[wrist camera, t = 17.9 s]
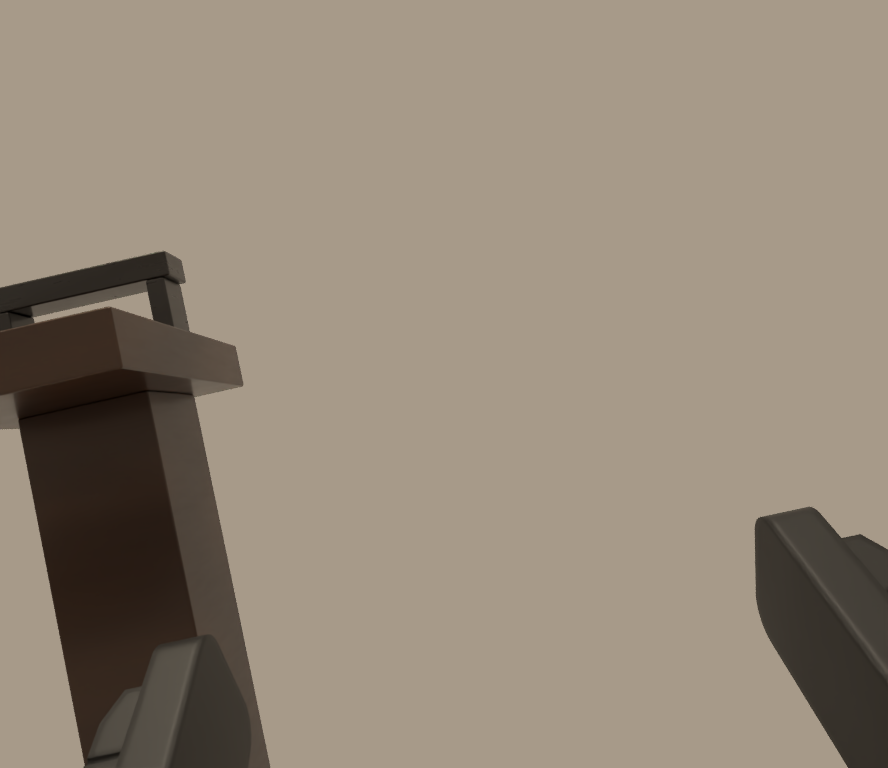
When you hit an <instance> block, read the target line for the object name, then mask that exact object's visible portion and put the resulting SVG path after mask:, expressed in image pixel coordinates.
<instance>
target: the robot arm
mask: <svg viewBox="0 0 888 768" xmlns="http://www.w3.org/2000/svg"><path fill="white" fill-rule="evenodd" d="M755 566H756V600H757V605H758V610H759V614H760V617H761V621H762V623H763V626H764V629H765V631H766V633H767V635H768V637H769V639H770V641H771V642H772V644H773V646H774V648H775V649H776V651H777V652H778V654H779V655H780V657H781V659H782V661H783V662H784V664H785V665H786V667H787V669H788V670H789V672H790V673H791V675H792V677H793V678H794V680H795V682H796V683H797V685H798V687H799V688H800V690H801V692H802V693H803V695H804V696H805V698H806V700H807V701H808V703H809V705H810V706H811V708H812V709H813V711H814V713H815V714H816V716H817V718H818V719H819V721H820V722H821V724H822V726H823V727H824V729H825V731H826V732H827V734H828V736H829V737H830V739H831V740H832V742H833V744H834V745H835V747H836V748H837V750H838V752H839V753H840V755H841V757H842V758H843V760H844V762H845V763H846V765H847V767H848V768H888V550H887V549H886V548H884V547H882V546H880V545H879V544H877V543H875V542H873V541H872V540H870V539H868V538H866V537H864V536H863V535H861V534H859V535H855V536H850V537H846V538H841V537H840V536H839V535H838V534H837V533H836V531H835V530H834V529H833V528H832V527H831V525H830V524H829V523H828V522H827V521H826V520H825V518H824V517H823V516H822V515H821V514H820V513H819V512H818V511H817V510H816V509H814V508H812V507H806V508H801V509H797V510H792V511H787V512H783V513H778V514H773V515H769V516H764V517H760V518H758V519H757V521H756V524H755ZM251 741H252V735H251V723H250V716H249V712H248V708H247V705H246V702H245V700H244V698H243V696H242V694H241V691H240V689H239V687H238V685H237V683H236V681H235V678H234V676H233V674H232V672H231V670H230V668H229V665H228V663H227V661H226V659H225V657H224V655H223V652H222V650H221V648H220V646H219V644H218V642H217V640H216V639H215V637H214V636H212V635H210V634H206V635H202V636H197V637H192V638H188V639H183V640H179V641H174V642H169V643H165V644H160V645H158V646H157V647H156V648H155V650H154V651H153V654H152V656H151V659H150V662H149V665H148V668H147V672H146V675H145V678H144V681H143V684H142V686H140V687H136V688H131V689H126V690H124V692H123V693H122V694H121V696H120V697H119V698H118V700H117V701H116V702H115V704H114V705H113V706H112V708H111V709H110V710H109V712H108V713H107V714H106V716H105V717H104V718H103V720H102V721H101V722H100V724H99V727H98V729H97V732H96V735H95V738H94V740H93V743H92V746H91V749H90V751H89V754H88V757H87V766H84V768H248V765H249V758H250V752H251Z"/></svg>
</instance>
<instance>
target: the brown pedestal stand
mask: <svg viewBox="0 0 888 768" xmlns="http://www.w3.org/2000/svg"><path fill="white" fill-rule="evenodd" d="M182 283H185V276H184V271H183V266H182V261H181V260H180V259H178V258H176V257H175V256H173V255H171V254H169V253H167V252H165V251H160V252H155V253H151V254H147V255H142V256H138V257H133V258H129V259H124V260H120V261H116V262H111V263H107V264H103V265H98V266H94V267H90V268H85V269H81V270H76V271H72V272H67V273H63V274H58V275H55V276H50V277H45V278H41V279H36V280H32V281H27V282H23V283H19V284H14V285H10V286H5V287H1V288H0V429H20V433H21V438H22V443H23V448H24V454H25V459H26V464H27V469H28V474H29V479H30V485H31V489H32V494H33V499H34V505H35V510H36V515H37V521H38V525H39V531H40V536H41V541H42V547H43V551H44V557H45V562H46V567H47V572H48V578H49V583H50V588H51V593H52V598H53V603H54V609H55V613H56V619H57V624H58V629H59V634H60V639H61V644H62V650H63V655H64V660H65V665H66V670H67V675H68V681H69V686H70V691H71V696H72V701H73V706H74V712H75V717H76V722H77V727H78V732H79V738H80V742H81V748H82V753H83V758H84V763H85V766H87V757H88V754H89V751H90V749H91V746H92V743H93V740H94V738H95V735H96V732H97V729H98V727H99V724H100V722H101V721H102V720H103V718H104V717H105V716H106V714H107V713H108V712H109V710H110V709H111V708H112V706H113V705H114V704H115V702H116V701H117V700H118V698H119V697H120V696H121V694H122V693H123V692H124V690H126V689H131V688H136V687H140V686H142V684H143V681H144V678H145V675H146V672H147V668H148V665H149V662H150V659H151V656H152V654H153V651H154V650H155V648H156V647H157V646H158V645H160V644H165V643H169V642H174V641H179V640H183V639H188V638H192V637H197V636H202V635H206V634H210V635H212V636H214V637H215V639H216V640H217V642H218V644H219V646H220V648H221V650H222V652H223V655H224V657H225V659H226V661H227V663H228V665H229V668H230V670H231V672H232V674H233V676H234V678H235V681H236V683H237V685H238V687H239V689H240V691H241V694H242V696H243V698H244V700H245V702H246V705H247V708H248V712H249V716H250V723H251V735H252V741H251V752H250V758H249V765H248V768H270V764H269V759H268V755H267V749H266V744H265V739H264V735H263V730H262V725H261V720H260V715H259V710H258V705H257V701H256V696H255V691H254V686H253V681H252V676H251V671H250V666H249V662H248V657H247V652H246V647H245V642H244V638H243V632H242V627H241V622H240V618H239V613H238V608H237V603H236V598H235V593H234V588H233V584H232V579H231V574H230V569H229V564H228V559H227V554H226V550H225V545H224V540H223V535H222V530H221V525H220V520H219V515H218V510H217V506H216V501H215V496H214V491H213V486H212V481H211V477H210V472H209V467H208V462H207V457H206V452H205V447H204V443H203V437H202V433H201V428H200V423H199V418H198V413H197V408H196V403H195V398H194V397H197V396H201V395H206V394H211V393H215V392H219V391H224V390H228V389H233V388H237V387H242V386H243V381H242V375H241V371H240V366H239V361H238V356H237V352H236V347H235V346H233V345H230V344H226V343H223V342H220V341H217V340H214V339H211V338H208V337H204V336H201V335H198V334H195V333H192V332H190V331H189V326H188V321H187V316H186V311H185V307H184V302H183V297H182V292H181V287H180V285H179V284H182ZM147 291H148V296H149V300H150V305H151V310H152V315H153V320H151V319H147V318H144V317H141V316H137V315H135V314H131V313H128V312H125V311H122V310H119V309H116V308H112V307H104V308H100V309H96V310H92V311H87V312H82V313H78V314H73V315H69V316H65V317H60V318H56V319H51V320H47V321H42V322H38V323H34V319H33V318H32V317H37V316H41V315H45V314H50V313H54V312H59V311H63V310H67V309H72V308H76V307H80V306H85V305H89V304H94V303H99V302H103V301H107V300H112V299H116V298H121V297H125V296H129V295H134V294H138V293H143V292H147Z"/></svg>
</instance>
